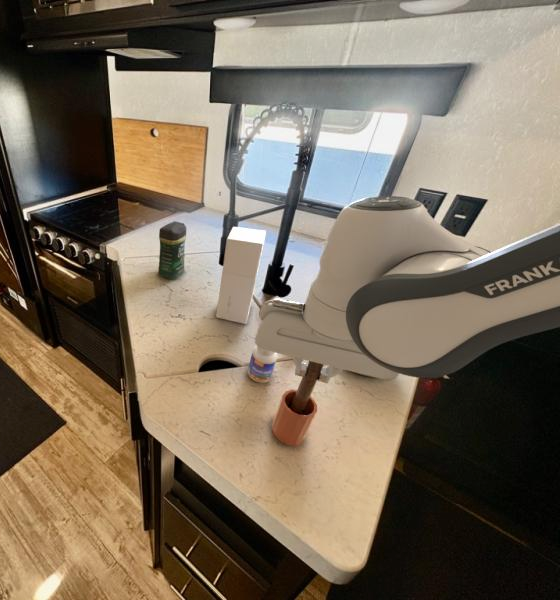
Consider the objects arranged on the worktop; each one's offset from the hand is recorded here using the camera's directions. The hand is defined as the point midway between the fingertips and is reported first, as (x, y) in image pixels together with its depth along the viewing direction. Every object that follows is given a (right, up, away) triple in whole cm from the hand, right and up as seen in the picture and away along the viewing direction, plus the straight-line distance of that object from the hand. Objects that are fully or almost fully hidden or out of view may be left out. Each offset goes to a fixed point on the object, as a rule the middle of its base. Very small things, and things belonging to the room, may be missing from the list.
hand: (310, 376), depth 52 cm
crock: (0, -13, +9) cm, 16 cm away
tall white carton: (-3, +9, +41) cm, 42 cm away
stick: (0, -13, +9) cm, 16 cm away
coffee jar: (-21, +22, +60) cm, 67 cm away
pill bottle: (-2, -5, +21) cm, 22 cm away
